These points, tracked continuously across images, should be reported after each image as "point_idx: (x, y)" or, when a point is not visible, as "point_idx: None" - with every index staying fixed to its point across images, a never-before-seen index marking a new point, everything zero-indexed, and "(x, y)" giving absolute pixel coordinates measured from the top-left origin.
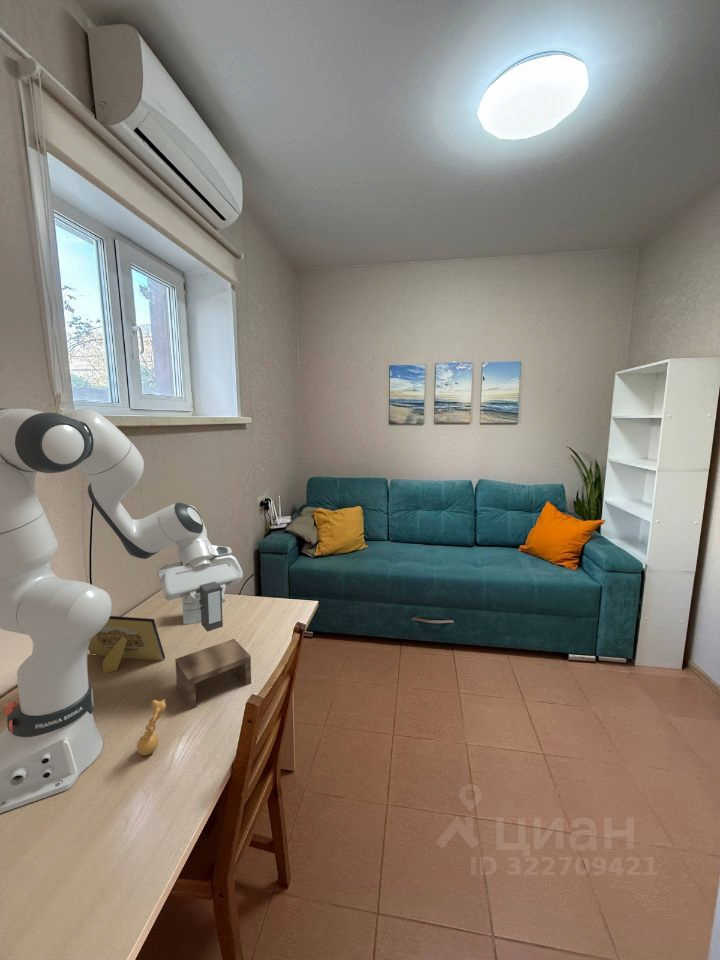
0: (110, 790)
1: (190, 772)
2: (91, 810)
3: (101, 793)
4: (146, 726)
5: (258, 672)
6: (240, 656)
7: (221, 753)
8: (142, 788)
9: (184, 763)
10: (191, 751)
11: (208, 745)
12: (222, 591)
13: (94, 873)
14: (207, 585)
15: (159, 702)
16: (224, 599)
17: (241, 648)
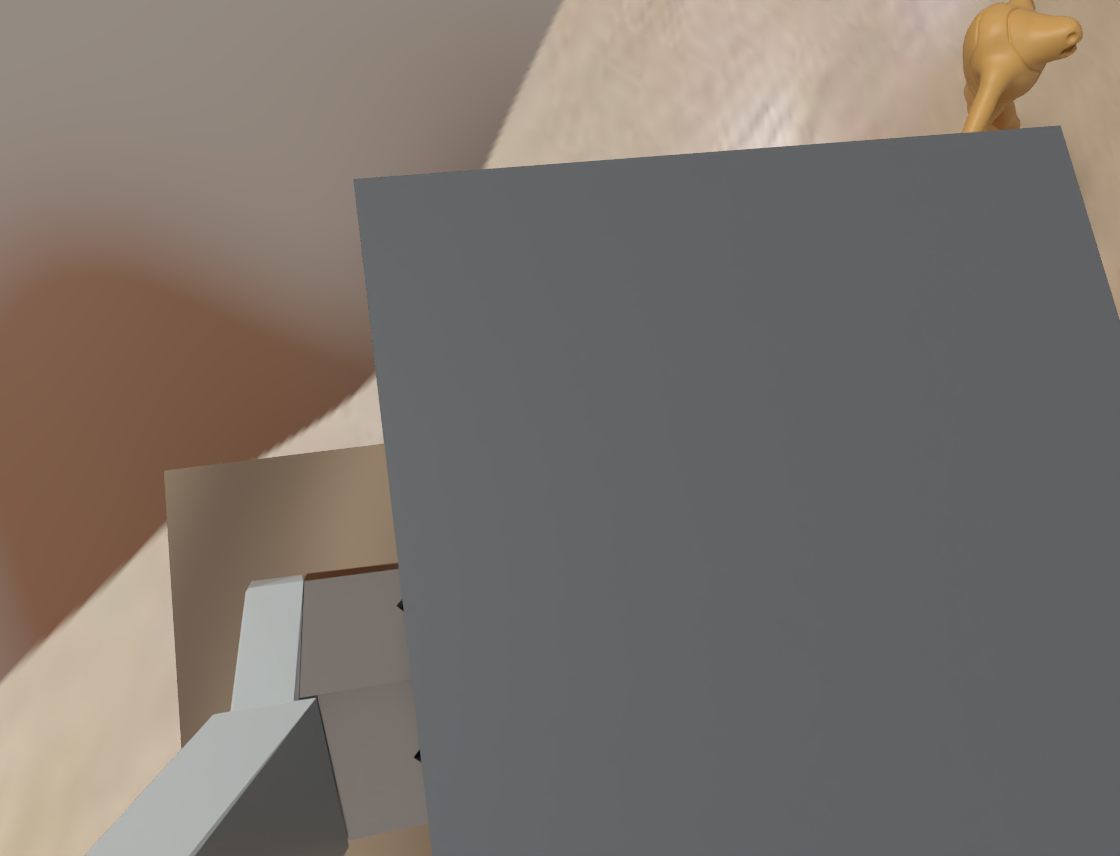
0: (1055, 111)
1: (736, 13)
2: (1108, 57)
3: (1087, 117)
4: (1019, 120)
5: (120, 629)
6: (259, 514)
7: (583, 35)
8: (932, 48)
9: (757, 76)
10: (718, 128)
11: (633, 118)
12: (231, 776)
13: None
14: (948, 708)
15: (1028, 17)
16: (267, 585)
17: (195, 663)
